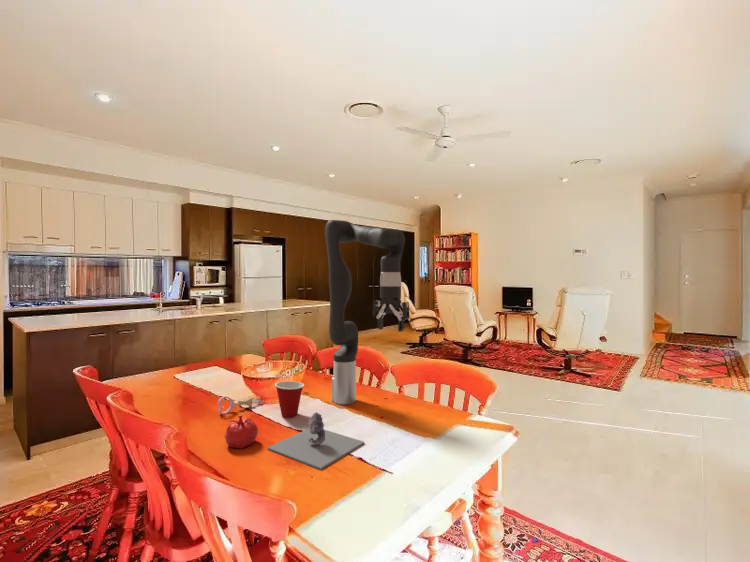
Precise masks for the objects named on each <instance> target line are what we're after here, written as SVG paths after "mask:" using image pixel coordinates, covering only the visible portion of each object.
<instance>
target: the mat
mask: <svg viewBox="0 0 750 562" xmlns="http://www.w3.org/2000/svg"><path fill="white" fill-rule="evenodd" d="M309 429H310V427H309V428H307V429H304V430H302V431H300V432H298V433H296V434H294V435H291V436H290V437H287V438H285V439H283V440H280V441H278V442H277V443H274V444H272V445H270V446H268V447H267V450H269V451H271V452H274V453H276V454H278V455H280V456H284V457H286V458H289V459H291V460H293V461H296V462H299V463H302V464H304V465H307V466H309V467H312V468H315V469H317V470H319V471H322V470H323V469H324V468H326V467H328V466H330V465H331V464H333V463H335V462H336V461H338V460H340V459H341V458H343V457H345V456H346V455H348V454H349V453H352V452H353V451H355V450H356V449H358V448H360V447H361V446H363V445H364V444H365V441H362V440H359V439H357V438H353V437H349V436H347V435H344V434H339V433H338V432H337V433H336V432H333V431H331V430H328V429H324V431H325V441H324V442H323V443H322V444H320V445H315V444H312V443H311V442H309V439H310V438H313V440H316V439H317V438H318V435H317V434H311V433H310V430H309Z"/></svg>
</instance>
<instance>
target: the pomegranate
mask: <svg viewBox="0 0 750 562" xmlns="http://www.w3.org/2000/svg"><path fill="white" fill-rule="evenodd" d="M228 422H229V423H230V424H229V426H228V427H227V428H226V431H225V433H224V434H225V435H224V439H225V442H226V444H227V445H228V447H230V448H232V449H243V448H246V447H248V446H250V445H252V444H253V443H254V442H255V441H256V438H257V437H258V434H259V428H258V425H257V424H256V423H255V422H254V421H253V419H252V418H249V417H248V416H246V417H244V419H243V415H242V414H240V415H238V420H234V419H232V420H229V421H228ZM231 422H232V423H231Z"/></svg>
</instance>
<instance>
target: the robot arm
mask: <svg viewBox="0 0 750 562" xmlns="http://www.w3.org/2000/svg"><path fill="white" fill-rule="evenodd" d="M324 234H325V244H326V251H327V262H328V263H327V264H328V288H329V307H330V308H329V324H328V325H329V326H328V327H329V328H328V332H329V340H330V341H331V343H332V344H334V346H340V347H339V348H338V350H337V351H335V352H334V353H333V377H331V401H332V402H333V403H335V404H338V405H351V404H355V402H357V397H356V396H357V376H356V375H357V368H356V367H357V361H356V360H357V359H356V358H357V354H358V348H359V346H358V345H359V330H358V327H357V325H356V323H355V322H353V321H351V320H346V321H345V309H346V306H347V303H348V301H349V299H350V296H351V294H352V287H353V286H352V284H353V283H352V273H351V270H350V269H349V267H348V265H347V263H346V262H345V260H344V257H342V253H341V250H340V243H341V244H345V243H350V242H351V243H352V242H359V243H360V244H363V245H365V246H373V247H376V248H378V249H386V250H389V251H388V254H387V255H383V256H381V258H380V277H379V298H380V300H373V301H372V317H373V318H376V320H377V322H376V323H377V324H376V325H377V326H376V327H377V329H378V330H383V329H384V316H385V315H386V314H393V315H394V316H396V317H397V319H398V324H397V326H398V327H397V331H398V332H401V333H402V332H403V331H404V330H405V320H409V319H410V304H409V303H410V302H409V301H404V302H402V300H401V299H402V276H401V260H402V256H403V253H404V248H405V242H406V238H405V234H404V233H403V231H402V230H400V229H396V228H395V229H394V228H383V227H377V226H369V225H368V226H367V225H366V226H365V225H362V226H361V225H357V224H354V223H353V222H350V221H348V220H339V219H329V220H328V221H327V222H326V224H325V229H324ZM380 307H381V308H380ZM401 308H402V309H401Z"/></svg>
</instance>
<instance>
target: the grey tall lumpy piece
mask: <svg viewBox="0 0 750 562" xmlns="http://www.w3.org/2000/svg"><path fill="white" fill-rule="evenodd" d="M308 420H309V421H308V426H309V428H310V429H309V428H308V429H309V430H310V433H311V434H317V435H318V438H317V439H316V440H313V438H310V439H309V442H311V443H312V444H315V445H320V444H322V443H323V442H324V441H325V431H324V430H325V429H324V427H325V424H324V422H323V417H322V414H320V413H318V412H314V413H313V414H311V417H310V418H309V419H308Z"/></svg>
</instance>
